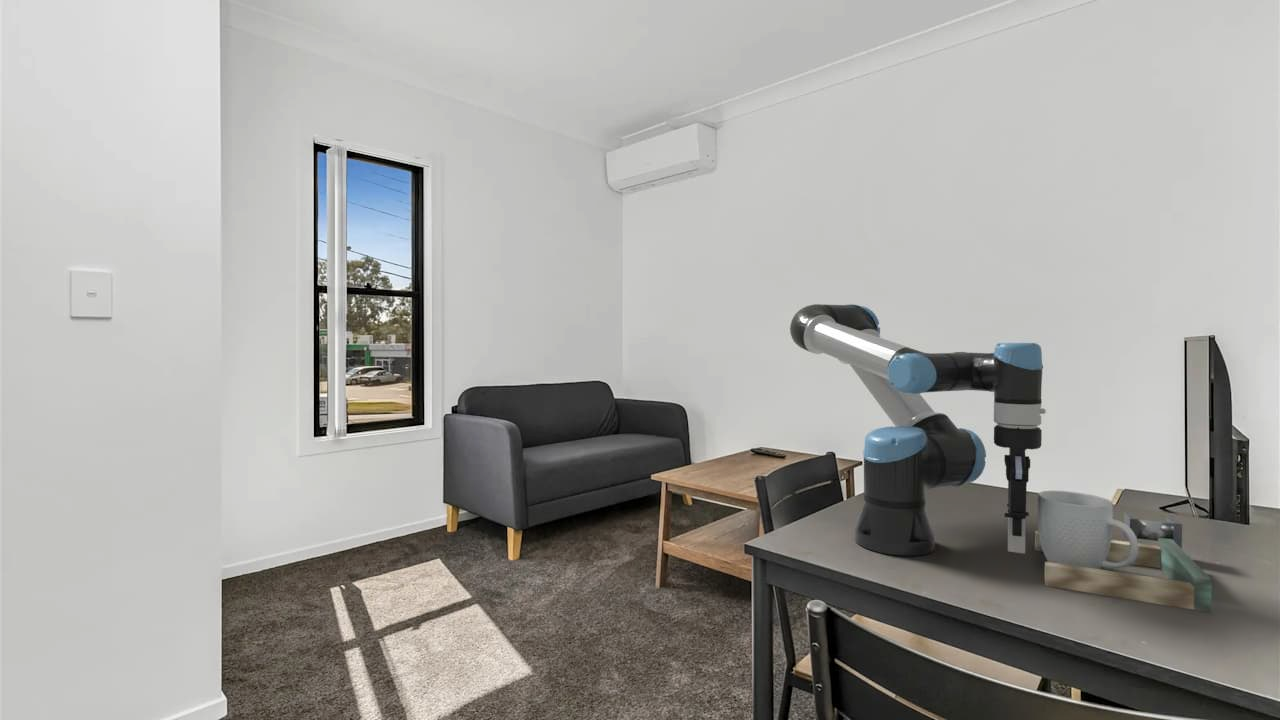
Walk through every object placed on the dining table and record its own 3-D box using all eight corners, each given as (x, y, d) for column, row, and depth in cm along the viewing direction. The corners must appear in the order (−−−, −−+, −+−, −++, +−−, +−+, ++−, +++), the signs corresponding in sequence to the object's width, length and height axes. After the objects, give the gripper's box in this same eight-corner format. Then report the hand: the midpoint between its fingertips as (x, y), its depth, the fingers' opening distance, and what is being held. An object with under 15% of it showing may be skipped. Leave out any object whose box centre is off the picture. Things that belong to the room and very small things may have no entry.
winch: (1128, 558, 115) (1129, 519, 114) (1121, 548, 120) (1122, 510, 120) (1183, 565, 111) (1184, 525, 111) (1174, 555, 116) (1175, 516, 116)
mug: (1148, 579, 105) (1150, 504, 104) (1123, 594, 99) (1125, 515, 98) (1052, 554, 117) (1053, 487, 117) (1025, 566, 111) (1026, 495, 111)
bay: (1045, 585, 102) (1046, 556, 102) (1034, 547, 121) (1035, 522, 120) (1210, 612, 92) (1211, 580, 92) (1171, 566, 111) (1172, 539, 110)
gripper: (1044, 431, 105) (1043, 566, 106) (1038, 422, 116) (1037, 544, 117) (994, 428, 109) (993, 558, 109) (993, 420, 120) (992, 538, 121)
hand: (1016, 551), depth 113 cm, fingers closed
